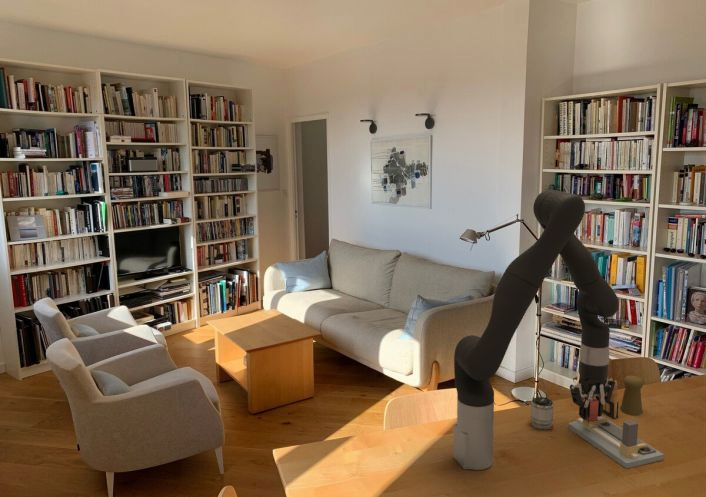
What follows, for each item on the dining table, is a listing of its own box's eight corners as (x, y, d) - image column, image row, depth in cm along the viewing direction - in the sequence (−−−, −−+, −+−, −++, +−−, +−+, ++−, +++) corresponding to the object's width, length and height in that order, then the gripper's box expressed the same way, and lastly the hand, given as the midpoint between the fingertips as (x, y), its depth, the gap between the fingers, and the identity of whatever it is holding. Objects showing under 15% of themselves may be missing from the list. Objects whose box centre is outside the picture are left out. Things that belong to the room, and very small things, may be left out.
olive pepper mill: (643, 409, 167) (645, 375, 165) (641, 417, 162) (644, 382, 160) (621, 404, 170) (623, 371, 168) (619, 412, 165) (621, 378, 163)
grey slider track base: (626, 468, 136) (628, 430, 134) (567, 427, 157) (569, 394, 155) (663, 459, 140) (666, 422, 138) (601, 420, 160) (603, 387, 159)
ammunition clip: (618, 418, 162) (620, 380, 160) (613, 419, 161) (615, 381, 159) (593, 402, 172) (595, 367, 170) (588, 403, 171) (590, 368, 169)
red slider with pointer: (589, 429, 151) (590, 402, 150) (582, 425, 153) (583, 398, 152) (609, 425, 153) (611, 398, 152) (603, 421, 156) (604, 394, 154)
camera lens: (526, 425, 159) (527, 400, 157) (535, 417, 163) (536, 393, 162) (547, 432, 155) (548, 406, 153) (556, 424, 159) (557, 399, 158)
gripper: (582, 368, 144) (579, 427, 147) (625, 360, 148) (621, 418, 151) (563, 358, 151) (560, 415, 154) (605, 351, 155) (601, 407, 158)
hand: (590, 416), depth 152 cm, fingers open, 4 cm apart
